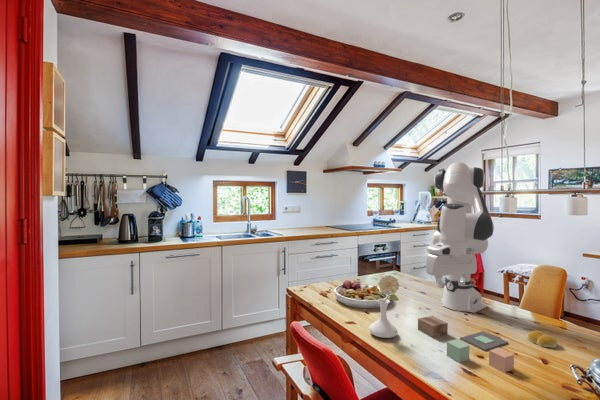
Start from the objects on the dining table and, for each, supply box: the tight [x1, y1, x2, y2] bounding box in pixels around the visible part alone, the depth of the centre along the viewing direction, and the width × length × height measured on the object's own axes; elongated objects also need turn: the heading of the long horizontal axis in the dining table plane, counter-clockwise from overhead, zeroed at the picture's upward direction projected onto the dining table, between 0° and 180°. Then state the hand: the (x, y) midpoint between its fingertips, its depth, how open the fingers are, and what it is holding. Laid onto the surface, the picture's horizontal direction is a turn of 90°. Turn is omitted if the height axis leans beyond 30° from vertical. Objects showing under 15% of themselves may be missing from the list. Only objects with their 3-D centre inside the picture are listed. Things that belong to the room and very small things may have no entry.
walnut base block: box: [417, 315, 449, 339], centre depth 126 cm, size 8×8×5 cm
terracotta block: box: [488, 346, 515, 374], centre depth 101 cm, size 5×5×5 cm
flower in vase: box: [368, 274, 401, 339], centre depth 123 cm, size 13×11×25 cm
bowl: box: [334, 280, 391, 309], centre depth 165 cm, size 30×30×8 cm
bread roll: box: [526, 330, 558, 349], centre depth 118 cm, size 8×9×4 cm
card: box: [459, 331, 509, 352], centre depth 119 cm, size 14×10×1 cm
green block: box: [446, 339, 471, 364], centre depth 107 cm, size 5×5×5 cm
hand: (451, 286), depth 110 cm, fingers open, 8 cm apart
